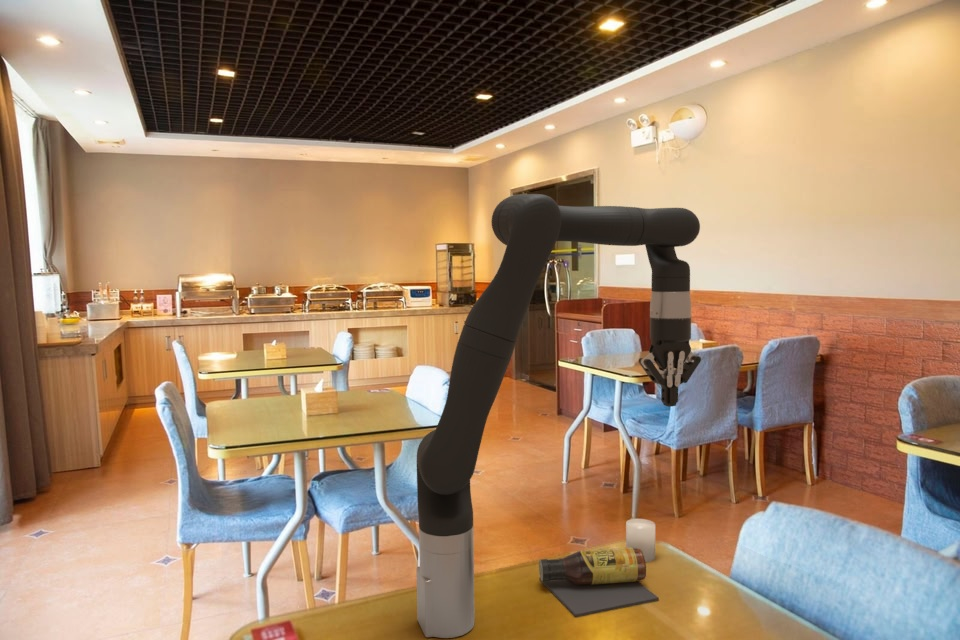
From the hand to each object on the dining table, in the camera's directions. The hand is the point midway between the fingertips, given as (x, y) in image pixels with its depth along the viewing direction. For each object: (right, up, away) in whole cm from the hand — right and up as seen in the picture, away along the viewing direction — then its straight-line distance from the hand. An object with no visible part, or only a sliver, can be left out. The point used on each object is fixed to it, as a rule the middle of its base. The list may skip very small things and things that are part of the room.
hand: (669, 405), depth 125 cm
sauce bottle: (-5, -31, +1) cm, 31 cm away
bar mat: (-14, -35, -2) cm, 37 cm away
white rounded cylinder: (-2, -34, +13) cm, 36 cm away
